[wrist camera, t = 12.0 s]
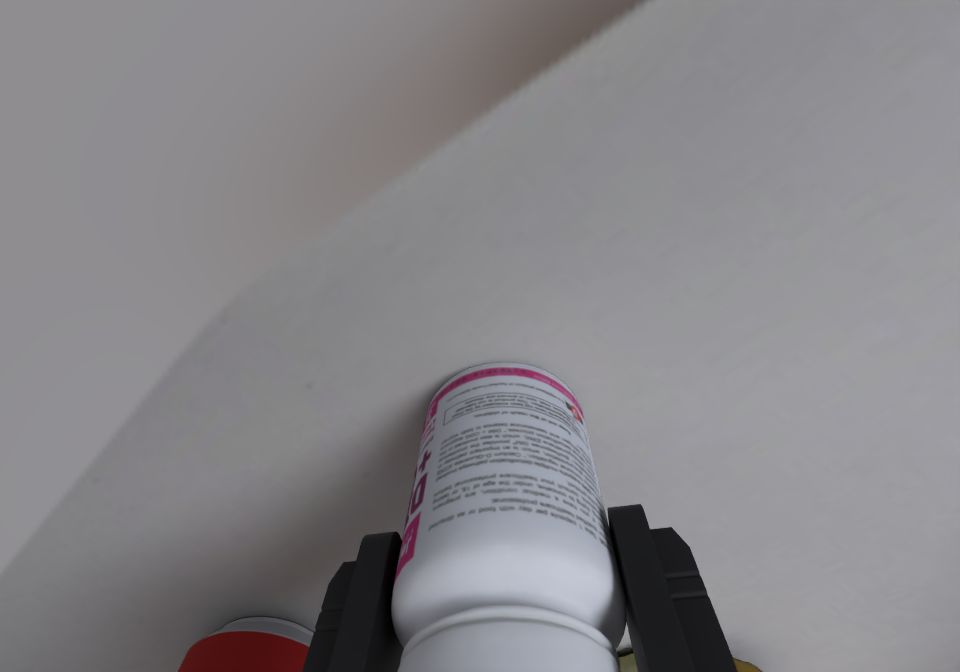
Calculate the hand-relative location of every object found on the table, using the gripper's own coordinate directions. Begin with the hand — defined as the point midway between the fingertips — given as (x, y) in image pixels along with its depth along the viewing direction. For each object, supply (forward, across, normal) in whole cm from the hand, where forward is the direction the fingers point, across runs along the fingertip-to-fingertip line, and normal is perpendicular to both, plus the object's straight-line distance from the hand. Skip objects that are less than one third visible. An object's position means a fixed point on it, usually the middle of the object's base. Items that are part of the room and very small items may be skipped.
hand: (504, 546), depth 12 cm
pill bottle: (+5, 0, 0) cm, 5 cm away
